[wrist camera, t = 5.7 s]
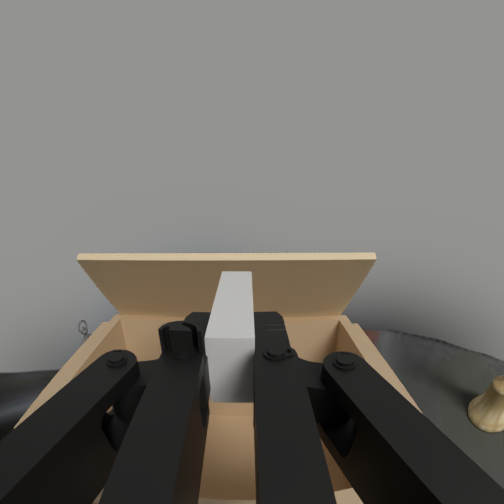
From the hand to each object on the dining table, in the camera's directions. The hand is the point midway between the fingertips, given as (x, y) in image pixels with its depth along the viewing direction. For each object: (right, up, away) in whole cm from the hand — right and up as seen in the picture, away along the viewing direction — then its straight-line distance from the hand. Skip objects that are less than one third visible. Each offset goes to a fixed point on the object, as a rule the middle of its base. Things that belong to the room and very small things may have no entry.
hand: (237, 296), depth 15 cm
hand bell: (+33, -20, +7) cm, 40 cm away
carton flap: (-2, -1, +8) cm, 9 cm away
